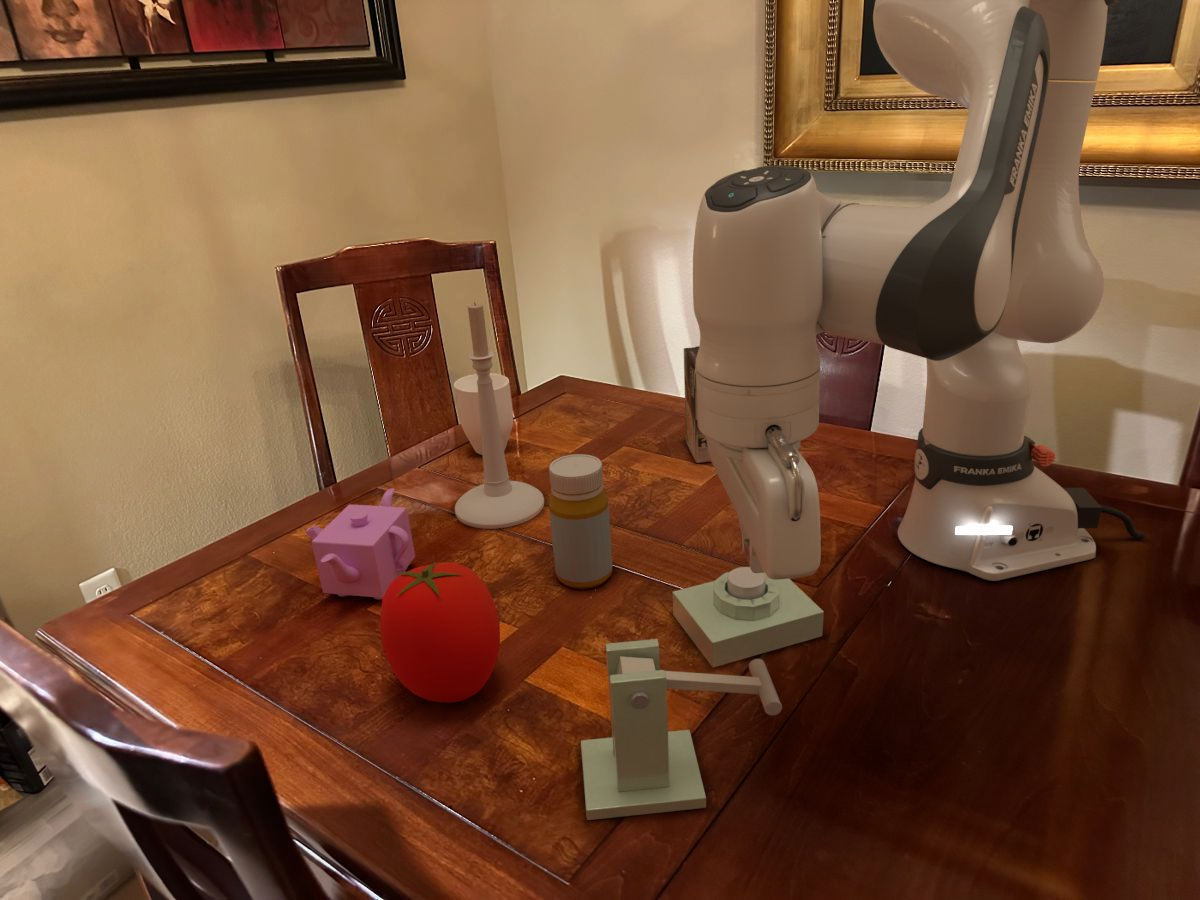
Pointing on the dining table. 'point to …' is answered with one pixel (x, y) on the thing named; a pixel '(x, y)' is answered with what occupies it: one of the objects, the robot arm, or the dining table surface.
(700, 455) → the coffee box
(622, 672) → the flush lever
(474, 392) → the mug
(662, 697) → the lever bracket
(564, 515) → the bottle
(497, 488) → the candlestick
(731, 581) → the white push button
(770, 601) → the push button base
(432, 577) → the tomato
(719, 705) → the dining table surface
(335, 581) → the teapot
